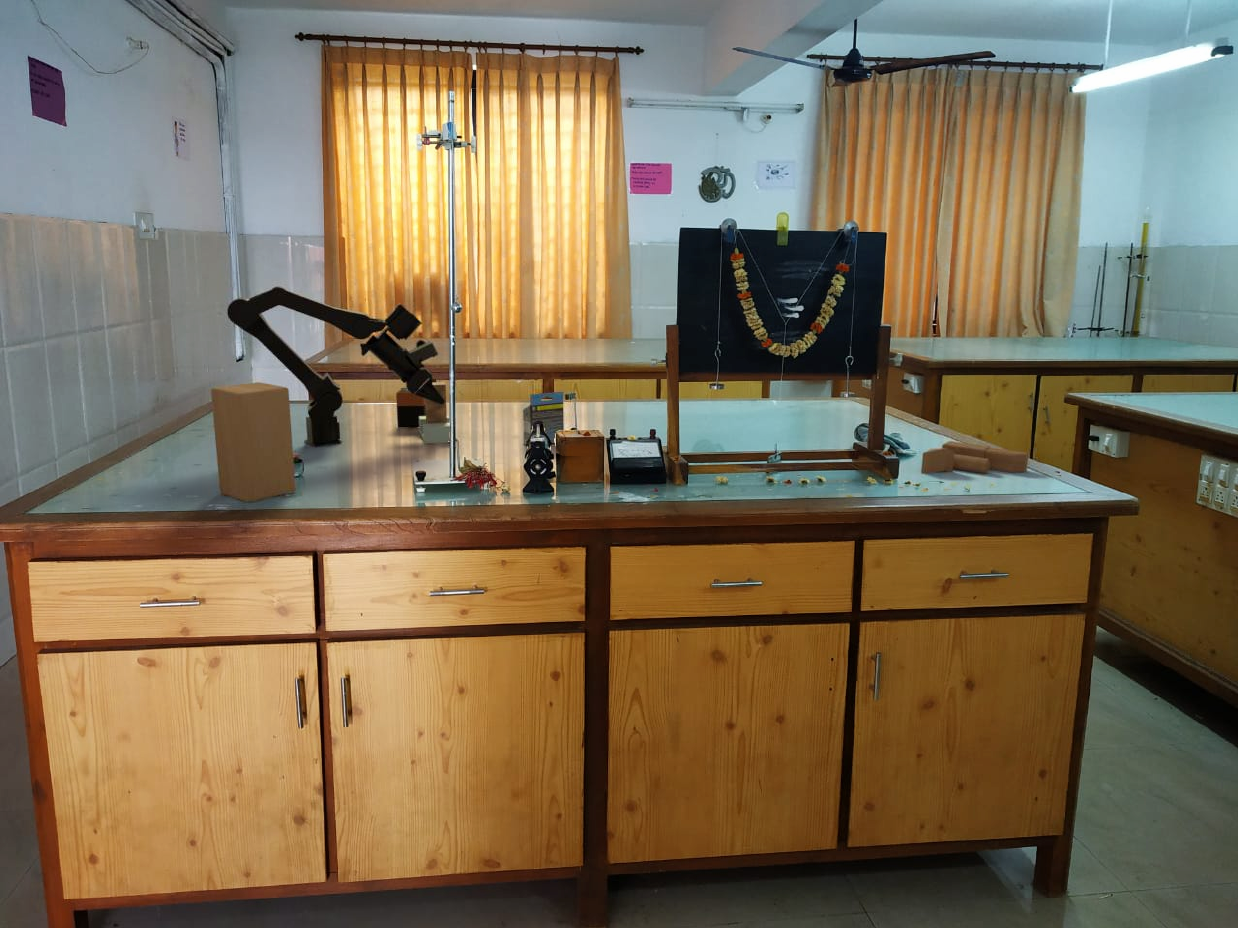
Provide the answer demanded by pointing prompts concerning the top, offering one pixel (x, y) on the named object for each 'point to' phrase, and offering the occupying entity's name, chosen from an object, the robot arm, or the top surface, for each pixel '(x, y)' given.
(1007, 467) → the wooden block set
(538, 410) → the label tape cartridge
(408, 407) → the battery
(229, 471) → the wooden block
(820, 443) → the top surface
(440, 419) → the slat
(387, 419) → the top surface
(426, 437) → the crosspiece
